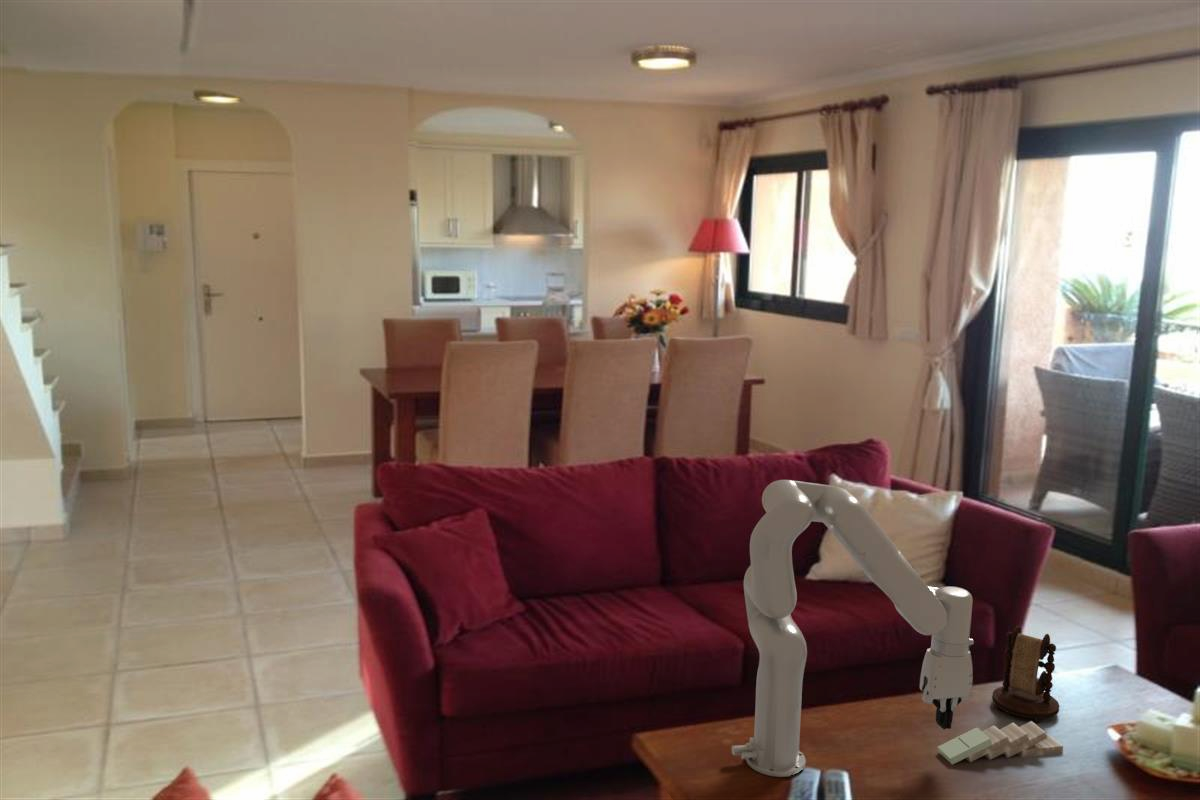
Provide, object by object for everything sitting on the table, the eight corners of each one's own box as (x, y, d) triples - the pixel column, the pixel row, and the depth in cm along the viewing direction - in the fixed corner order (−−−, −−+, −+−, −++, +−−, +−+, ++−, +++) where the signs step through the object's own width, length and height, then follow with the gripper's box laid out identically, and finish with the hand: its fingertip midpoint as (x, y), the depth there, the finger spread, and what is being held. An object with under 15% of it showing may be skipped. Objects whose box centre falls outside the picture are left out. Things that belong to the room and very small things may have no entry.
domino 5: (1022, 750, 215) (1063, 745, 217) (1008, 738, 220) (1048, 734, 222) (1021, 757, 216) (1062, 752, 218) (1008, 745, 220) (1048, 741, 222)
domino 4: (1005, 751, 215) (1045, 732, 216) (992, 740, 219) (1031, 720, 220) (1007, 758, 215) (1047, 738, 216) (994, 746, 220) (1033, 727, 221)
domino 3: (987, 753, 214) (1027, 733, 215) (974, 742, 218) (1013, 722, 220) (989, 760, 214) (1029, 739, 215) (976, 748, 219) (1015, 728, 220)
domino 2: (968, 756, 213) (1007, 736, 214) (954, 744, 217) (993, 725, 219) (970, 762, 213) (1009, 742, 214) (956, 750, 218) (995, 731, 219)
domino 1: (950, 758, 212) (990, 738, 213) (937, 746, 216) (976, 727, 218) (952, 764, 212) (992, 744, 213) (939, 752, 217) (978, 733, 218)
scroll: (981, 709, 237) (988, 630, 233) (1005, 689, 248) (1012, 613, 244) (1045, 731, 227) (1053, 648, 224) (1067, 709, 238) (1075, 630, 234)
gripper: (971, 636, 215) (965, 714, 218) (908, 640, 212) (903, 720, 215) (991, 650, 208) (984, 731, 211) (926, 655, 205) (920, 737, 208)
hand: (943, 725), depth 213 cm, fingers closed
